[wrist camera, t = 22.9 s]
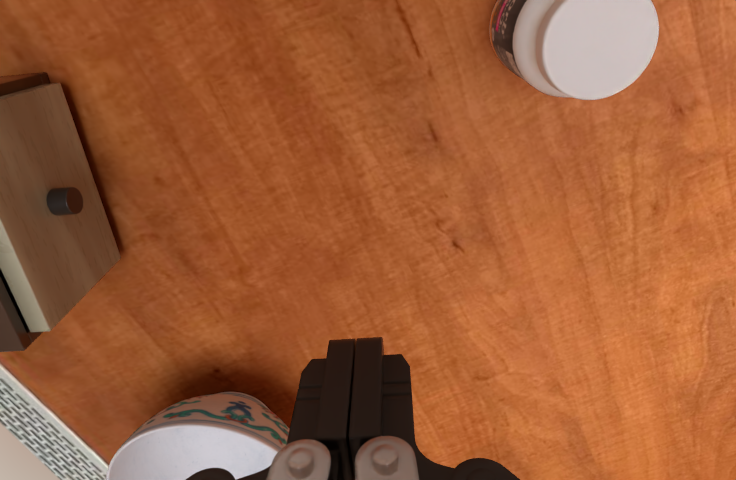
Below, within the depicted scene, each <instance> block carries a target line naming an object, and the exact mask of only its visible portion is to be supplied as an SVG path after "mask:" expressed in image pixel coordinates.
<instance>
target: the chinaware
mask: <svg viewBox="0 0 736 480" xmlns="http://www.w3.org/2000/svg"><path fill="white" fill-rule="evenodd" d="M289 430H290V429H289V428H288V427H287V426H286V424H285V423H284V422H283V421H282V420H281V419H280V418H279V417H278V416H277V415H275V414H274V413H273V412H272V411H270V410H269V409H268V407H267V406H266V405H265V404H264V403H262V402H261V401H260V400H258V399H256V398H255V397H253V396H250V395H248V394H244V393H240V392H221V393H217V394H210V395H202V396H197V397H193V398H189V399H186V400H183V401H180V402H178V403H175V404H173V405H171V406H169V407H167V408H165V409H164V410H162V411H160V412H159V413H157V414H156V415H154V416H153V417H152V418H150V419H149V420H148V421H146V422H145V423H144V424H143V425H142V426H140V427H139V428H138V429H137V430H136V431H135V432H134V433H133V434H132V435H131V436H130V437H129V438H128V439H127V440H126V441H125V442H124V444H123V445H122V446H121V447H120V448H119V450H118V451H117V452H116V454H115V455H114V457H113V458H112V460H111V462H110V464H109V467H108V470H107V476H106V480H186V479H187V478H189V477H190V476H191V475H193V474H195V473H196V472H199V471H201V470H204V469H208V468H222V469H225V470H227V471H229V472H230V473H231V474H232V475H233V476H234V478H235V480H236V479H239V478H242V477H245V476H248V475H251V474H254V473H257V472H259V471H262V470H264V469H266V468H267V467H269V466H270V465H271V464H272V461H273V459H274V457H275V455H276V454H277V453H278V452H279V450H281V449H282V448H283V447H284V446H286V444H287V439H288V435H289Z"/></svg>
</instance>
